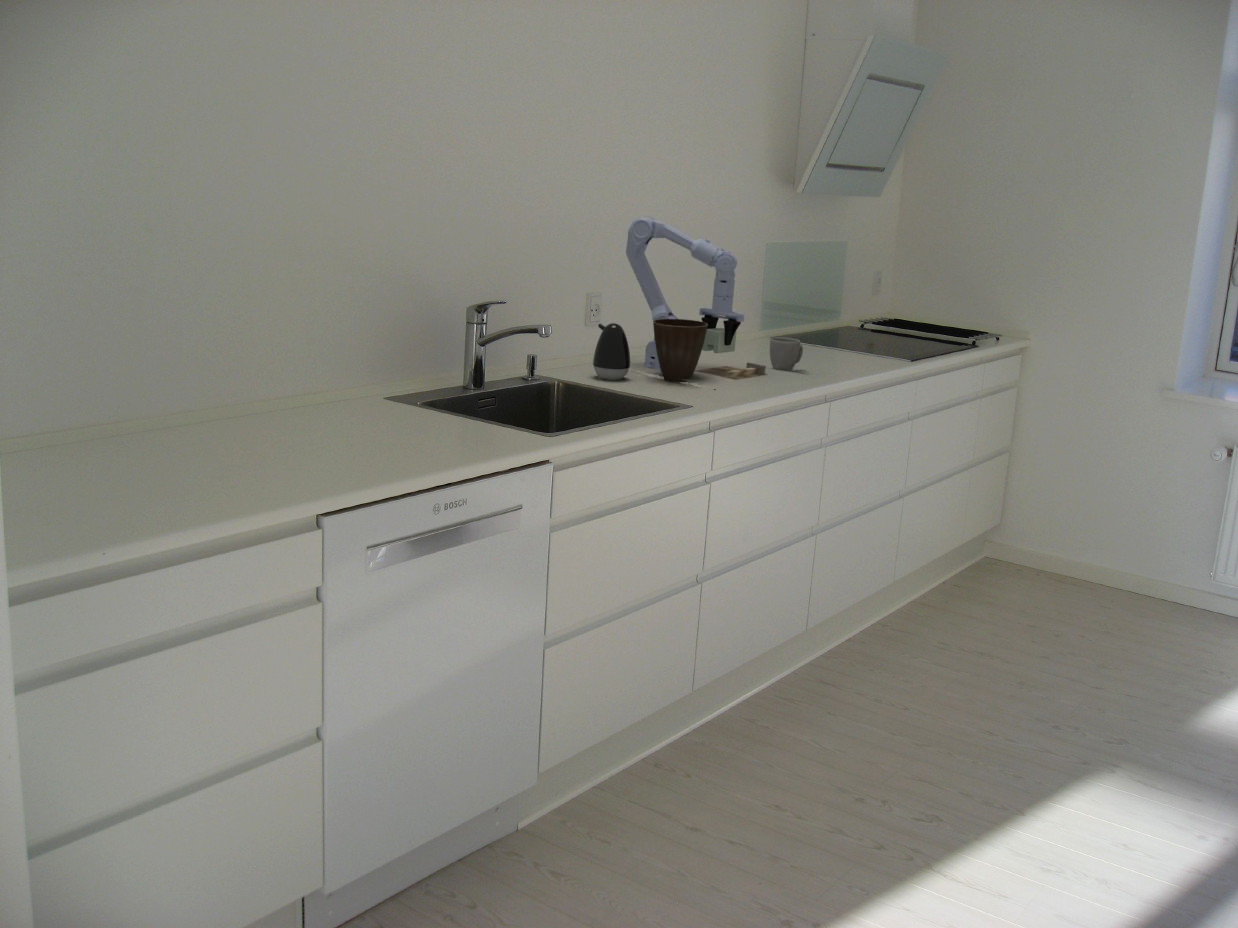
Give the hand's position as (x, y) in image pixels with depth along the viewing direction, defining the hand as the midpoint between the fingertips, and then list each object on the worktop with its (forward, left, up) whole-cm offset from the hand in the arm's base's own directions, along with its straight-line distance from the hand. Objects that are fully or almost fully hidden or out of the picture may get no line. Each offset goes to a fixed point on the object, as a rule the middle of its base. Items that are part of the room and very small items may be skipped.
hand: (719, 343), depth 320 cm
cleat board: (+2, -4, -9) cm, 10 cm away
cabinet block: (0, 0, -2) cm, 2 cm away
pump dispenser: (-32, +12, -9) cm, 35 cm away
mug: (+24, -8, -9) cm, 27 cm away
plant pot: (-17, +1, -9) cm, 19 cm away
